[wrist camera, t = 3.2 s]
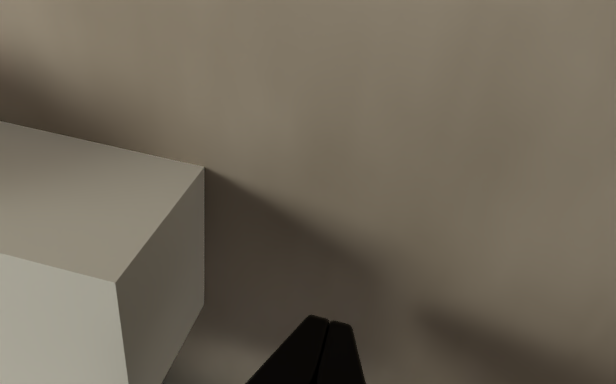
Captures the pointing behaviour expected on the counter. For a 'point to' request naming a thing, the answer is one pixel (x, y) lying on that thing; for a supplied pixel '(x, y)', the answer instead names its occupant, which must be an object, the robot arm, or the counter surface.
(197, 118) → the counter surface
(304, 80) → the counter surface
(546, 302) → the counter surface
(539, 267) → the counter surface
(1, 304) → the tan-tipped white bar
